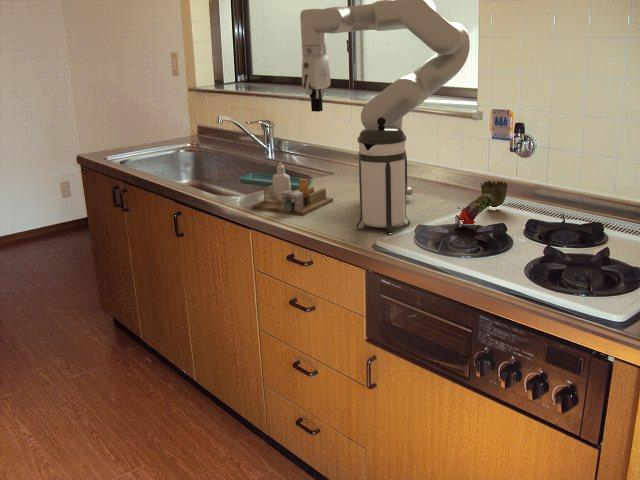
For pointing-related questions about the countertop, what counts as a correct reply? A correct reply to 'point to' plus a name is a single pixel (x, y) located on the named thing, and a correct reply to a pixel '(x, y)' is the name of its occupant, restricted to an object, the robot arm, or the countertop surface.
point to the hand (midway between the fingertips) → (317, 111)
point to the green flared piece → (495, 191)
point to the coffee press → (382, 176)
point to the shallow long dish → (267, 180)
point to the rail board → (277, 202)
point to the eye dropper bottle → (281, 181)
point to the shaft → (303, 188)
